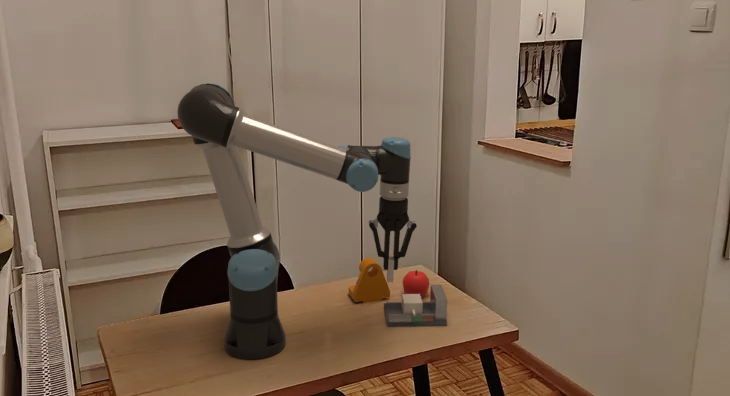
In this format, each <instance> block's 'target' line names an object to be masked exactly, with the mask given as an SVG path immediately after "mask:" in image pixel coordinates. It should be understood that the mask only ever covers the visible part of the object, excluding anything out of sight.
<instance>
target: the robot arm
mask: <svg viewBox="0 0 730 396" xmlns="http://www.w3.org/2000/svg"><path fill="white" fill-rule="evenodd" d="M177 105H178V106H177V111H176V112H177V119H178V122H179V124H180V126H181V128H182V129H183V130H184V131H185V132H186V134H188V135H190V136H191V138H192V141H193V144H194V146H196V147H198V148H200V149H201V150H203V155H204V158H205V160H206V164H207V167H208V170H209V173H210V177H211V180H212V182H213V183H212V184H213V186H214V188H215V192H216V195H217V199H218V201H219V204H220V208H221V211H222V213H223V214H222V215H223V216H224V220H225V222H226V227H227V230H228V232H229V238H228V241H227V243H226V246H227V249H228V252H229V255H230V259H229V261H228V264H227V266H228V267H227V272H226V273H227V278H228V292H229V295H228V296H229V313H230V315H229V316H230V318H229V322H228V326H227V329H226V332H225V336H224V349H225V351H226V353H227V354H229V355H230V356H232V357H235V358H237V359H242V360H260V359H265V358H269V357H273V356H274V355H277V354H279V353H280V352H281V351H283V349H284V348H285V346H286V344H287V343H286V338H287V337H286V332H285V329H284V327H283V325H282V322H281V319H280V317H279V313H278V311H279V309H278V277H279V267H280V264H281V263H280V262H281V261H280V260H281V256H280V250H279V249H278V247H277V246H278V245H276V243H275V242H274V240H273V237H272V233H271V231H270V228H269V229H268V228H266V227H264V226H263V224H262V220H261V217H260V213H259V211H258V207H257V204H256V201H255V198H254V194H253V190H252V187H251V184H250V181H249V178H248V174H247V171H246V168H245V164H244V161H243V158H242V153H241V152H240V149H244V150H247V151H249V152H253V153H255V154H258V155H261V156H264V157H267V158H270V159H273V160H276V161H278V162H283V163H285V164H288V165H291V166H294V167H297V168H300V169H303V170H306V171H309V172H312V173H315V174H318V175H321V176H323V177H326V178H330V179H331V180H332V179H333V180H336V181H338V182H340V183H344V184H347V185H348V186H349V187H350V188H352V190H354V191H356V192H358V193H359V192H360V193H363V192H369V191H371V190H372V189H373V188H374V187H375V186H376V185H377V183H378V182H379V195H380V197H379V199H378V200H379V204H378V214H377V215H376V218H375V219H372V220H369V221H368V226H369V228H370V230H371V231H372V235H373V238H374V244H375V248H376V253H377V256H378V257H379V258H383V270H384V271H386V282H387V283H394V273H395V271H398V268H399V260H400V258H405V257H406V254H407V252H408V248H409V245H410V242H411V239H412V235H413V233H414V231H415V230H416V228H417V227H418V226H417V222H416V221H415V220H411V219H410V216H409V214H408V213H409V212H408V211H409V210H408V209H409V199H408V197H409V187H410V186H409V185H410V183H409V182H410V171H411V170H410V168H411V159H412V156H411V142H410V141H409V139H407V138H404V137H395V136H391V137H388V136H387V137H384V138H383V139H382V140H381V143H380V145H350V144H346V145H338V146H336V145H332V144H330V143H327V142H324V141H322V140H318V139H315V138H313V137H310V136H309V135H308V136H307V135H304V134H302V133H298V132H296V131H293V130H290V129H287V128H284V127H281V126H279V125H276V124H273V123H270V122H267V121H265V120H261V119H259V118H256V117H252V116H250V115H248V114H245V113H244V112H243V110H242V108H241V107H238V106H235V101H234V97H232V95H231V93H230V91H228V90H227V89H226V88H224V87H223V86H222V85H220V84H216V83H209V82H208V83H201V84H198V85H196V86H194V87H193V88H191V89H190V91H188V92H186V94H184V95H183V97H182V98H181V99H180V101H179V103H178V104H177ZM379 177H380V180H379ZM379 225H380V226H381V228H382V229H383V230H384V239H383V240H384V242H383V250H382V247H381V242H380V236H379V233H378V227H379ZM405 225H406V228H407V229H406V231H405V234H404V238H403V241H402V244H401V248H400V236H401V231H402V230H403V228H404V227H405ZM391 232H393V252H392V254H393V255H391V256H390V245H391V244H390V243H391Z"/></svg>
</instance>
